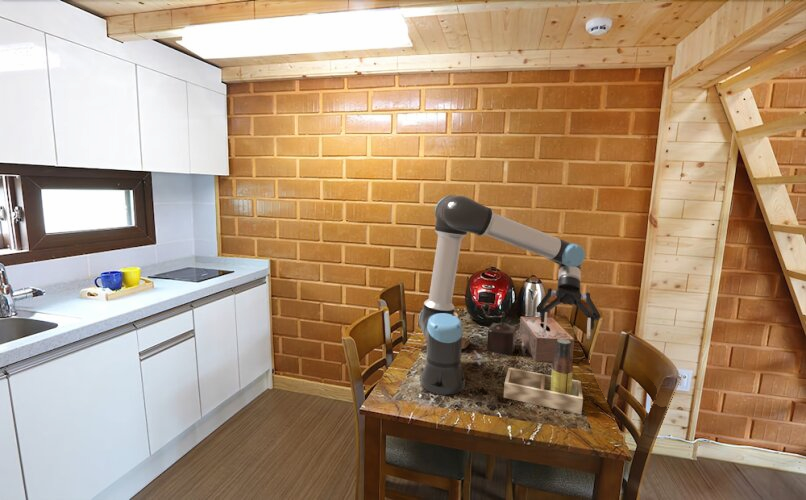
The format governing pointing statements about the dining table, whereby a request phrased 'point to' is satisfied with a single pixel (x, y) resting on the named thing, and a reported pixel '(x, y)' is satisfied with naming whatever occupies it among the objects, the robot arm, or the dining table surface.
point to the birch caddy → (541, 391)
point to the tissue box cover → (542, 338)
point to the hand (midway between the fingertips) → (566, 334)
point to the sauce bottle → (562, 368)
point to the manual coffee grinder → (500, 335)
